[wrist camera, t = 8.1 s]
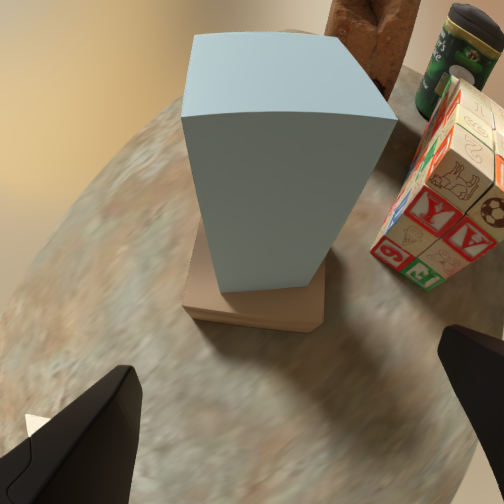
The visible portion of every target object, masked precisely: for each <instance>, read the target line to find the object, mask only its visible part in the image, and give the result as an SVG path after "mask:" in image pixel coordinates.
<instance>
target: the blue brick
mask: <svg viewBox="0 0 504 504" xmlns="http://www.w3.org/2000/svg"><path fill="white" fill-rule="evenodd" d="M181 120H182V125H183V130H184V135H185V140H186V146H187V151H188V155H189V160H190V165H191V170H192V175H193V180H194V184H195V189H196V193H197V198H198V203H199V207H200V211H201V216H202V220H203V225H204V229H205V233H206V238H207V242H208V246H209V250H210V254H211V258H212V263H213V267H214V271H215V275H216V279H217V283H218V287H219V290H220V293H230V292H244V291H257V290H269V289H280V288H291V287H302V286H308V284H309V282H310V281H311V279H312V278H313V276H314V274H315V273H316V271H317V269H318V268H319V266H320V264H321V263H322V261H323V259H324V258H325V256H326V254H327V253H328V251H329V249H330V248H331V246H332V244H333V242H334V241H335V239H336V237H337V235H338V234H339V232H340V230H341V228H342V227H343V225H344V223H345V221H346V220H347V218H348V216H349V214H350V212H351V211H352V209H353V207H354V205H355V203H356V202H357V200H358V198H359V196H360V194H361V192H362V190H363V189H364V187H365V185H366V183H367V181H368V179H369V177H370V175H371V173H372V171H373V170H374V168H375V166H376V164H377V162H378V160H379V158H380V156H381V154H382V152H383V150H384V148H385V146H386V144H387V142H388V140H389V138H390V136H391V134H392V132H393V129H394V127H395V125H396V123H397V121H398V119H397V117H396V116H395V114H394V113H393V111H392V110H391V108H390V106H389V105H388V103H387V102H386V100H385V99H384V97H383V96H382V95H381V93H380V92H379V90H378V89H377V87H376V86H375V85H374V83H373V82H372V80H371V79H370V78H369V76H368V75H367V74H366V72H365V71H364V70H363V68H362V67H361V66H360V65H359V63H358V62H357V61H356V60H355V58H354V57H353V56H352V55H351V53H350V52H349V51H348V50H347V49H346V47H345V46H344V45H343V44H342V43H341V41H340V40H339V39H338V38H337V37H330V36H321V35H312V34H301V33H285V32H228V33H212V34H201V35H195V36H194V41H193V46H192V51H191V56H190V62H189V68H188V74H187V80H186V86H185V92H184V99H183V106H182V114H181Z"/></svg>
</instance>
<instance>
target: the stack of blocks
mask: <svg viewBox="0 0 504 504" xmlns="http://www.w3.org/2000/svg"><path fill="white" fill-rule="evenodd" d="M503 240H504V109H503V108H501V107H500V106H499V105H498V104H496V103H495V102H494V101H492V100H491V99H490V98H489V97H487V96H486V95H485V94H483V93H482V92H480V91H479V90H478V89H476V88H475V87H474V86H472V85H471V84H469V83H468V82H467V81H465V80H464V79H462V78H460V79H457V78H456V77H454V76H453V75H451V77H450V79H449V81H448V83H447V85H446V88H445V90H444V92H443V94H442V98H441V100H440V101H439V103H438V105H437V107H436V109H435V111H434V113H433V116H432V118H431V119H430V121H429V123H428V125H427V127H426V129H425V131H424V134H423V137H422V139H421V140H420V143H419V146H418V148H417V151H416V153H415V155H414V158H413V160H412V163H411V165H410V169H409V172H408V174H407V176H406V179H405V181H404V183H403V186H402V188H401V190H400V193H399V195H398V197H397V199H396V201H395V203H394V204H393V206H392V208H391V210H390V212H389V214H388V216H387V218H386V220H385V222H384V225H383V226H382V228H381V230H380V232H379V234H378V235H377V237H376V239H375V241H374V243H373V245H372V247H371V249H370V253H371V254H373V255H374V256H376V257H377V258H379V259H380V260H382V261H383V262H385V263H386V264H387V265H389V266H390V267H392V268H393V269H395V270H396V271H398V272H400V273H401V274H403V275H404V276H406V277H407V278H408V279H410V280H411V281H413V282H414V283H415V284H417V285H418V286H419V287H421V288H422V289H423V290H425V291H426V292H427V291H429V290H431V289H433V288H434V287H436V286H438V285H440V284H441V283H443V282H445V281H446V280H447V278H449V277H451V276H452V275H454V274H455V273H457V272H459V271H460V270H462V269H463V268H465V267H466V266H467V265H469V264H470V263H473V262H475V261H477V260H478V259H479V258H481V257H482V256H483V255H485V254H486V253H488V252H489V251H490V250H492V249H493V248H495V247H496V246H497V245H498V244H499V243H500V242H501V241H503Z"/></svg>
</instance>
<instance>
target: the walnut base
mask: <svg viewBox="0 0 504 504" xmlns="http://www.w3.org/2000/svg"><path fill="white" fill-rule="evenodd" d="M325 257H326V256H325ZM324 296H325V258H324V259H323V261H322V263H321V264H320V266H319V268H318V269H317V271H316V273H315V274H314V276H313V278H312V279H311V281H310V282H309V284H308V286H302V287H291V288H280V289H269V290H257V291H244V292H230V293H220V290H219V287H218V283H217V279H216V275H215V271H214V267H213V263H212V258H211V254H210V250H209V246H208V242H207V238H206V233H205V229H204V225H203V220H202V216H201V219H200V223H199V227H198V231H197V236H196V240H195V244H194V249H193V253H192V258H191V262H190V267H189V272H188V276H187V281H186V286H185V291H184V296H183V301H182V306H183V308H184V309H185V310H186V312H187V313H188V314H189V315H190V317H191V318H192V319H198V320H204V321H211V322H218V323H225V324H232V325H240V326H248V327H256V328H265V329H274V330H284V331H294V332H306V333H311V332H312V331H313V330H314V329H316V328H317V327H318V326H319V325H321V324H322V323H323V318H324Z"/></svg>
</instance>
